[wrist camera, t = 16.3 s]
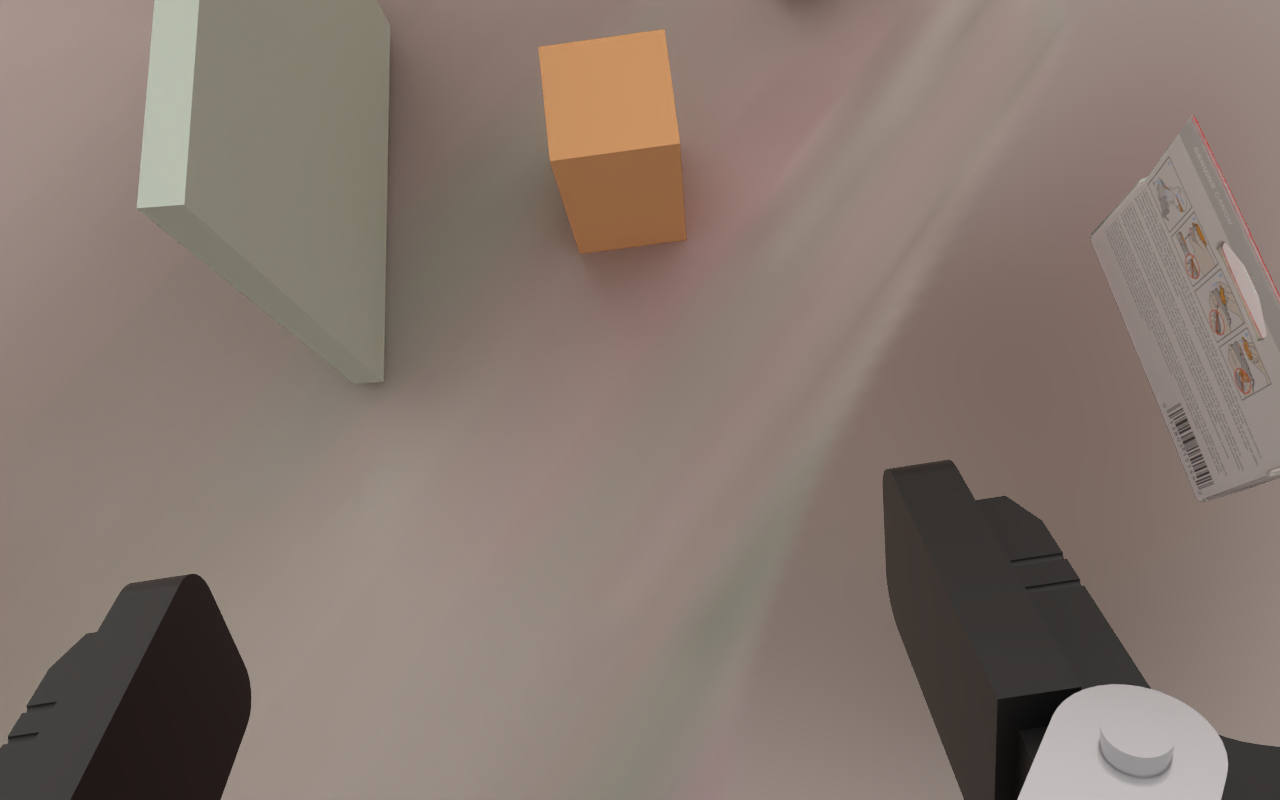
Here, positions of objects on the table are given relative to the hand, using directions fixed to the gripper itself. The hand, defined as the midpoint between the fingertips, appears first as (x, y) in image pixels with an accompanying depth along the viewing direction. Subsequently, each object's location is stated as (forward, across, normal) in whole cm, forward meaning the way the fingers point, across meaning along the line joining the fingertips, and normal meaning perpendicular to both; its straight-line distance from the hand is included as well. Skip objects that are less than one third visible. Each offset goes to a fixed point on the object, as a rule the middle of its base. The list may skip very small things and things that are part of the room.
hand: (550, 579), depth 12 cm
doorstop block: (+32, -1, +6) cm, 33 cm away
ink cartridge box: (+25, -21, +14) cm, 35 cm away
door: (+33, +10, +5) cm, 34 cm away
